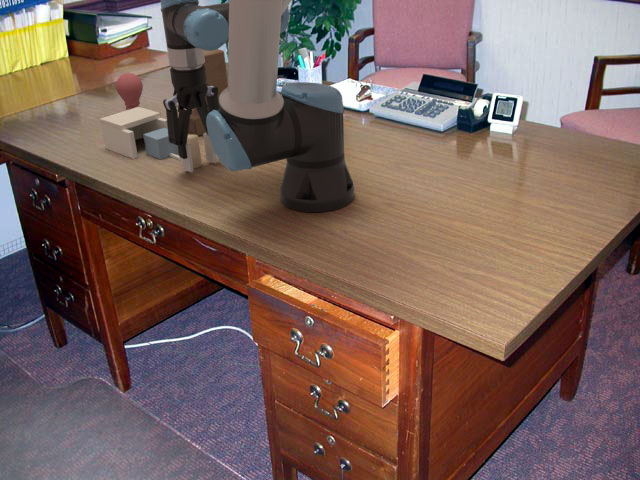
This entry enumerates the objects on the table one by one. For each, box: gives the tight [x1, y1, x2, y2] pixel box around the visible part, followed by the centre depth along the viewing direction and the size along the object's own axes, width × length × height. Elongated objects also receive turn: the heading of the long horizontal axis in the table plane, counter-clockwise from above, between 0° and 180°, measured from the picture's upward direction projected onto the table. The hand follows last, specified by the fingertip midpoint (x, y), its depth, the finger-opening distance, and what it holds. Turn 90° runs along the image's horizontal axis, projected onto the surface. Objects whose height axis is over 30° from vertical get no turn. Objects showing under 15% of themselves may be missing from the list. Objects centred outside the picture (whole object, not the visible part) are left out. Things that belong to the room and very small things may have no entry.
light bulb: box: [115, 72, 144, 111], centre depth 196 cm, size 7×7×12 cm
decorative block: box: [188, 48, 228, 137], centre depth 181 cm, size 11×6×20 cm, turn 127°
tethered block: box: [143, 128, 203, 170], centre depth 167 cm, size 17×6×7 cm, turn 44°
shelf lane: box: [99, 107, 168, 160], centre depth 175 cm, size 12×11×8 cm
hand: (200, 165), depth 162 cm, fingers open, 6 cm apart
